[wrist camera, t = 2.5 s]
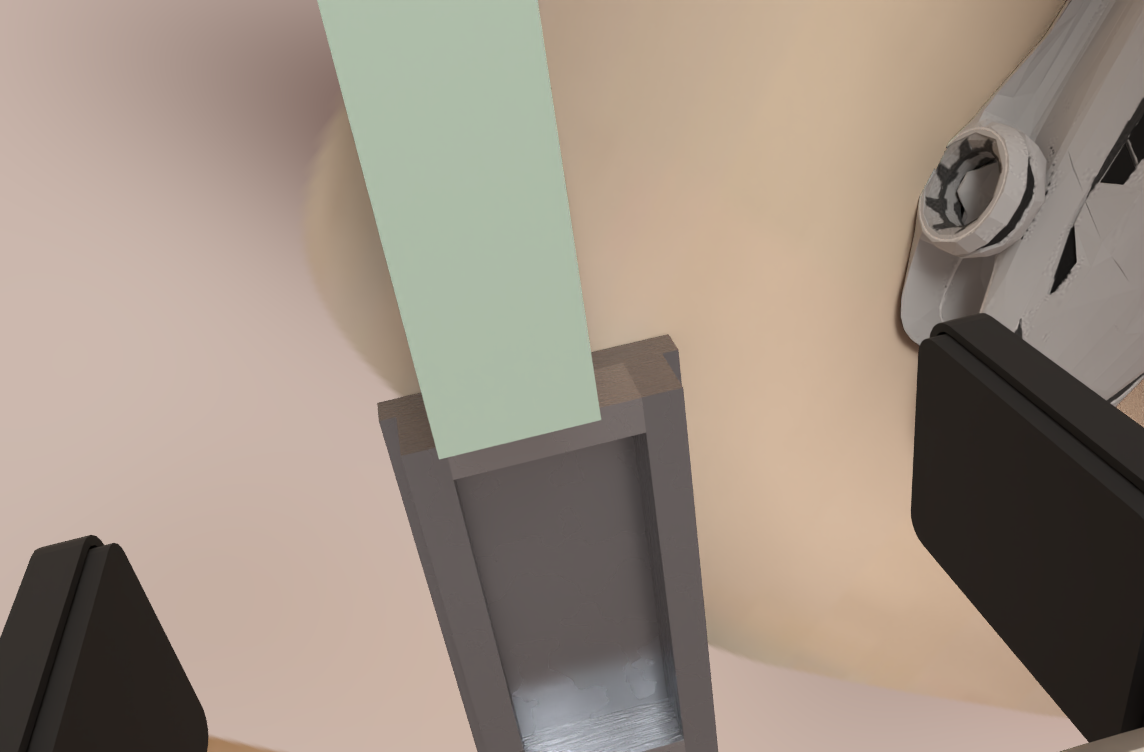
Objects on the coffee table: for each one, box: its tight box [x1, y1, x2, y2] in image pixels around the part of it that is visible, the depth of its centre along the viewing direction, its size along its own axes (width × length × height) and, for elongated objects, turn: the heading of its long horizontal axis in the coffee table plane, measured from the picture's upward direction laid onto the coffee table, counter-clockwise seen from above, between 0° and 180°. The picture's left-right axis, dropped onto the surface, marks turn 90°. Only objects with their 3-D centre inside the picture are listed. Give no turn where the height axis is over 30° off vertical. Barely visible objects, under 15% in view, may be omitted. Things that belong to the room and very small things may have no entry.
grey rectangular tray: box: [378, 335, 718, 752], centre depth 32 cm, size 16×9×3 cm, turn 9°
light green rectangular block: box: [317, 0, 601, 459], centre depth 22 cm, size 10×4×8 cm, turn 9°
